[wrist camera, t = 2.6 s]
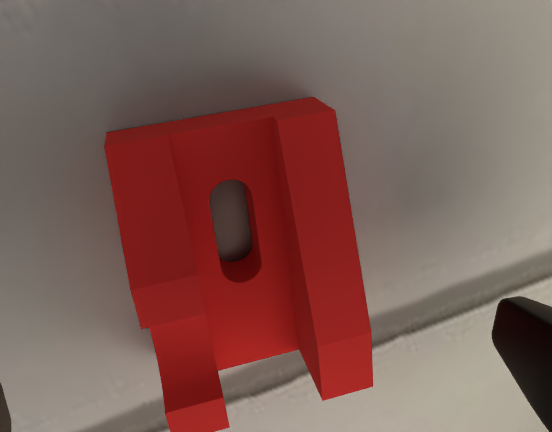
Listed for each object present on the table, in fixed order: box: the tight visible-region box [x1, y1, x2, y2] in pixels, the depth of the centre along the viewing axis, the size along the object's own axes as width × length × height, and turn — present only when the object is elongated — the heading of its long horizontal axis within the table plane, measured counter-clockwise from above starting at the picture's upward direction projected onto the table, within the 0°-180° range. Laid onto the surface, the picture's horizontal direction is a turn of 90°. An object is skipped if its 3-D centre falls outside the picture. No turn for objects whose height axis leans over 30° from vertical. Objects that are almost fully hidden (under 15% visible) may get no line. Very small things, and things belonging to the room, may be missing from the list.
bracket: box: [104, 97, 373, 432], centre depth 12 cm, size 6×5×3 cm
